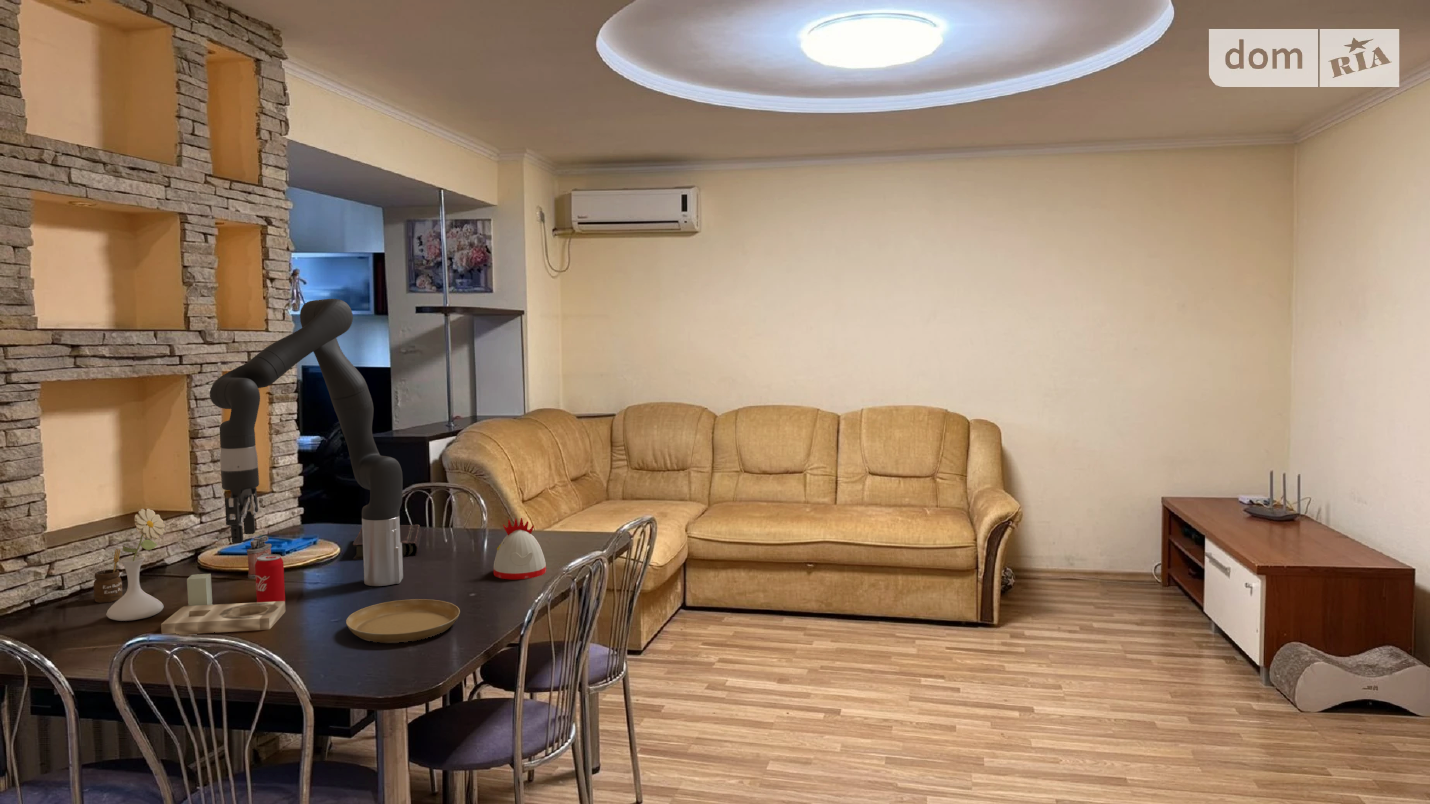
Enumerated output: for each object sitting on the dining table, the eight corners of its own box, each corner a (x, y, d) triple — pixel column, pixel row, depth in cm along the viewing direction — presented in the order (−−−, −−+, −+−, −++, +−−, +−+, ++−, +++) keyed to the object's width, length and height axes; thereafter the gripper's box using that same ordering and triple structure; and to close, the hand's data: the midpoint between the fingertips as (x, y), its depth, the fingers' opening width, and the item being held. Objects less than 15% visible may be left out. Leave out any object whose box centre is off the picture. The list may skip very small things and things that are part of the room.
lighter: (256, 578, 256) (254, 541, 255) (244, 578, 256) (242, 541, 255) (275, 570, 263) (274, 534, 263) (264, 570, 264) (262, 534, 263)
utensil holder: (88, 601, 235) (85, 553, 234) (112, 594, 241) (110, 547, 240) (105, 604, 233) (102, 555, 232) (129, 597, 239) (126, 549, 238)
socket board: (285, 613, 225) (284, 600, 225) (269, 631, 213) (269, 618, 212) (184, 618, 222) (183, 606, 221) (161, 637, 209) (161, 623, 209)
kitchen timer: (491, 568, 265) (490, 514, 264) (541, 564, 269) (540, 511, 268) (496, 581, 252) (495, 525, 251) (549, 577, 256) (548, 521, 255)
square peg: (212, 610, 228) (210, 573, 227) (207, 616, 224) (205, 578, 223) (194, 612, 227) (192, 574, 226) (188, 617, 223) (186, 579, 222)
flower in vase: (122, 628, 215) (116, 518, 213) (96, 620, 221) (90, 512, 219) (181, 613, 226) (175, 508, 224) (154, 605, 232) (148, 503, 230)
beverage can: (262, 602, 234) (260, 554, 233) (289, 601, 235) (287, 553, 234) (252, 610, 228) (250, 560, 227) (279, 609, 228) (277, 559, 227)
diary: (421, 539, 304) (421, 523, 303) (418, 558, 280) (417, 541, 279) (358, 541, 299) (358, 525, 299) (349, 561, 275) (349, 544, 275)
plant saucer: (462, 641, 206) (461, 626, 206) (342, 653, 200) (341, 637, 199) (458, 608, 229) (458, 595, 229) (350, 618, 223) (350, 604, 222)
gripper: (247, 471, 208) (251, 545, 210) (266, 461, 222) (271, 530, 224) (210, 472, 207) (214, 546, 209) (232, 462, 221) (236, 531, 223)
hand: (243, 538), depth 216 cm, fingers open, 8 cm apart
